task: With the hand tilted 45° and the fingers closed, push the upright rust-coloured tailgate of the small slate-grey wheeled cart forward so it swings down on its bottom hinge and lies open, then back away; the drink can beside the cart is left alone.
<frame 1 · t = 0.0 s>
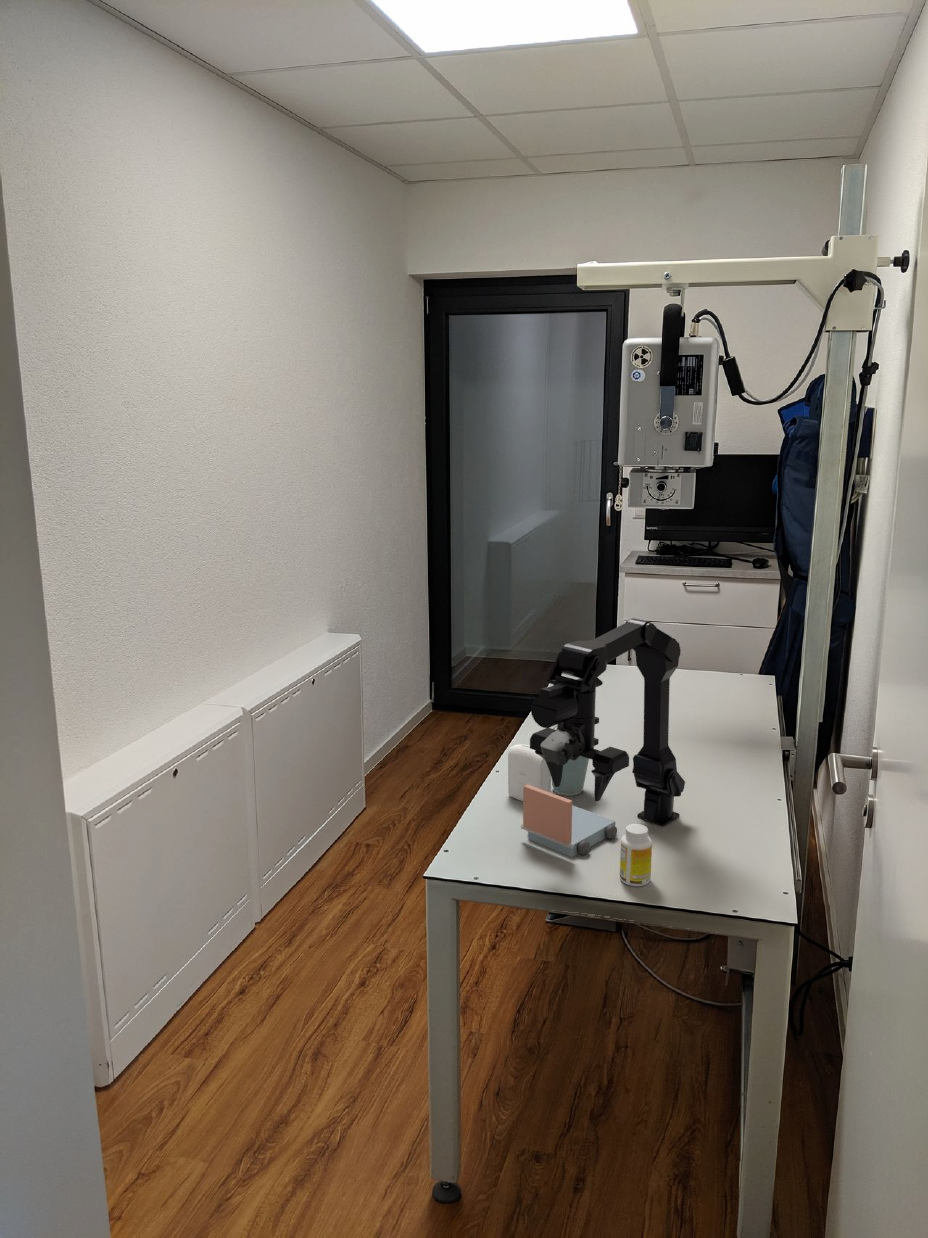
hand: (577, 793, 175), 15 cm above the table, tool pointing down, fingers open, 9 cm apart
disposable coffee cup: (568, 790, 212), on the table
supplement bottle: (634, 881, 174), on the table
photo printer: (529, 801, 207), on the table
cart bed: (571, 835, 191), on the table
tailgate: (547, 816, 183), point 7 cm above the table, hinge at 0.0°
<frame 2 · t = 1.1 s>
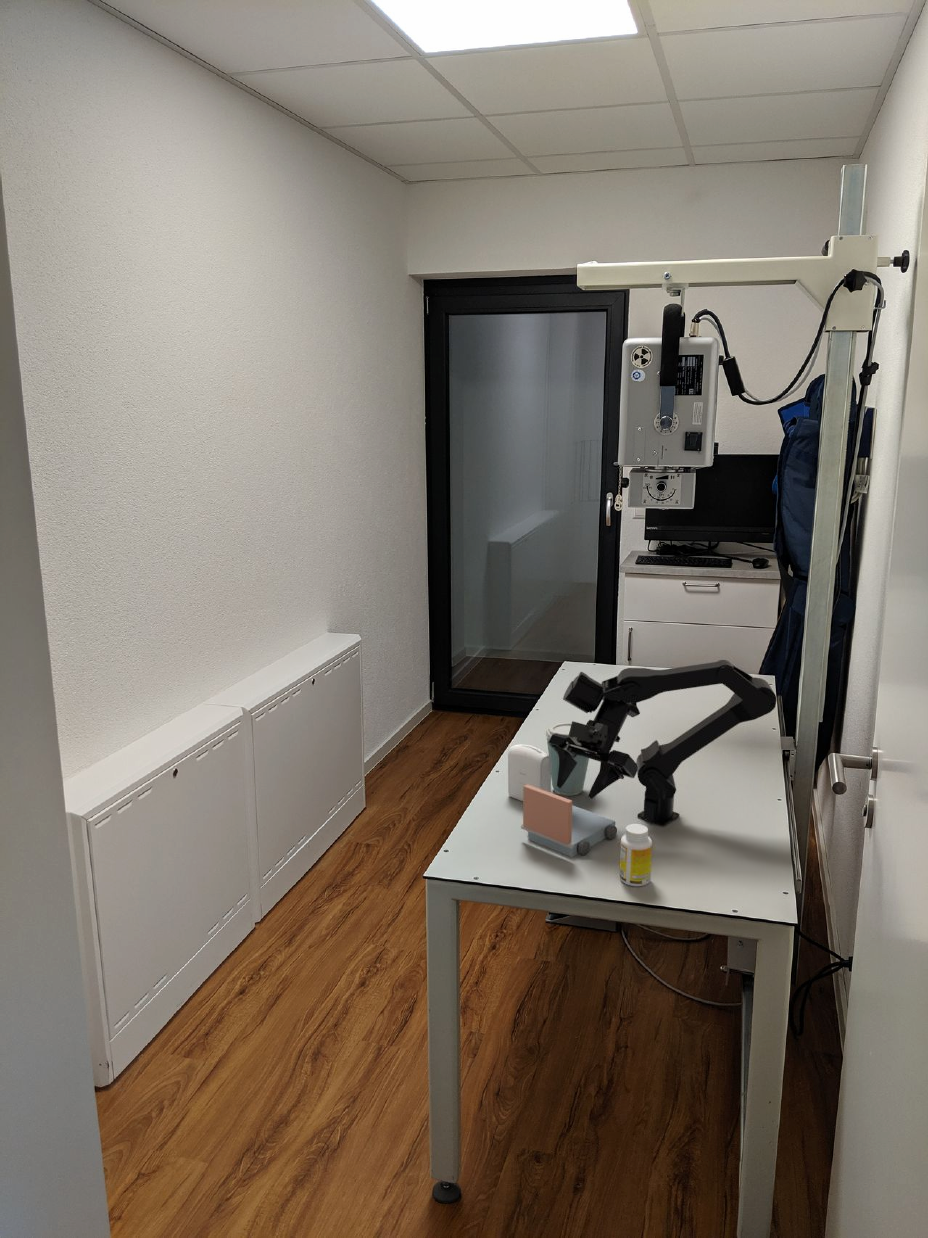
hand: (573, 792, 188), 9 cm above the table, tool tilted 45°, fingers open, 7 cm apart
nothing on the table moved.
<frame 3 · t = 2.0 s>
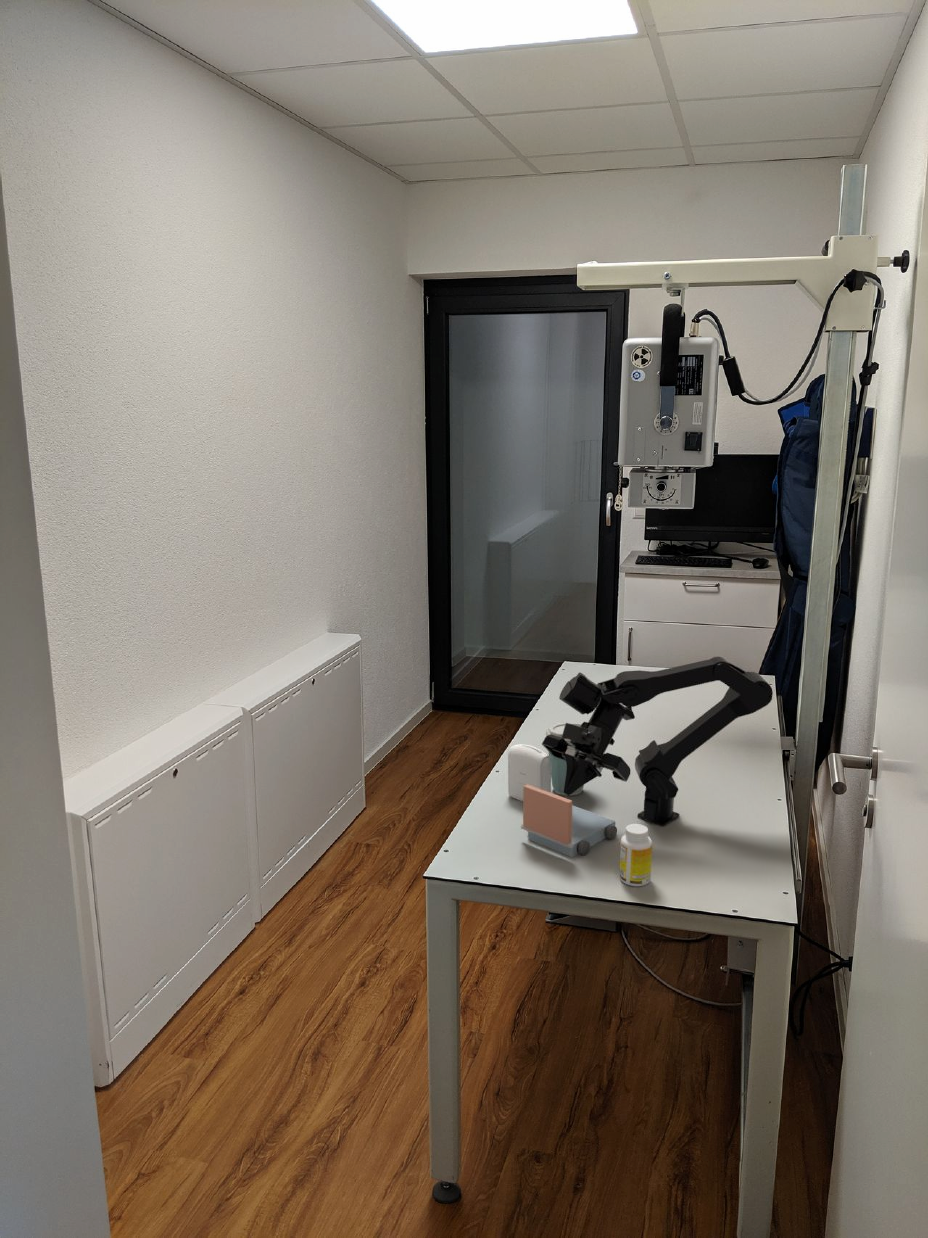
hand: (566, 794, 187), 9 cm above the table, tool tilted 45°, fingers closed
nothing on the table moved.
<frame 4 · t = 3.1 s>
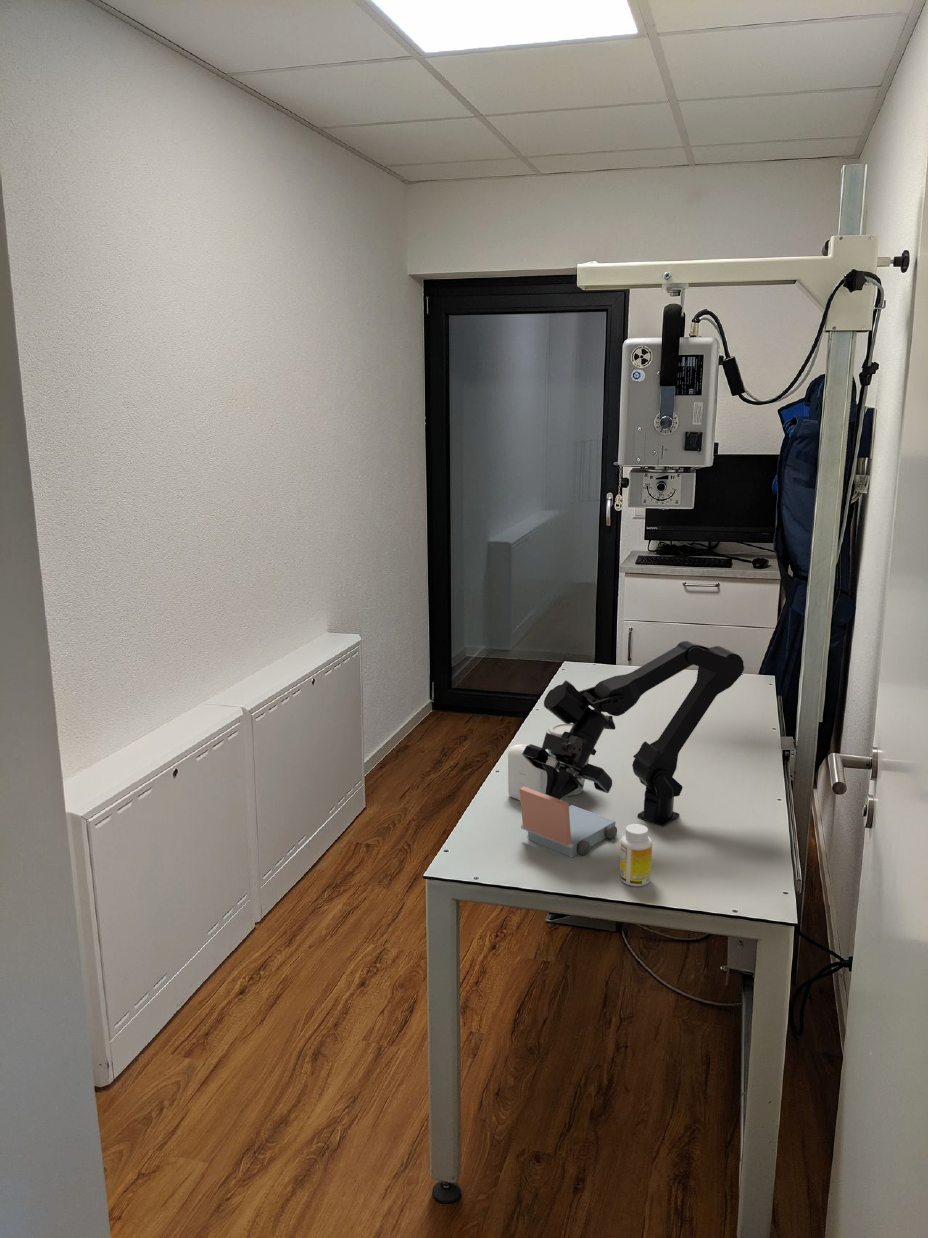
hand: (546, 806, 183), 9 cm above the table, tool tilted 45°, fingers closed, pressing on tailgate
tailgate: (545, 817, 183), point 7 cm above the table, hinge at 7.7°, touching gripper
everything else where it was.
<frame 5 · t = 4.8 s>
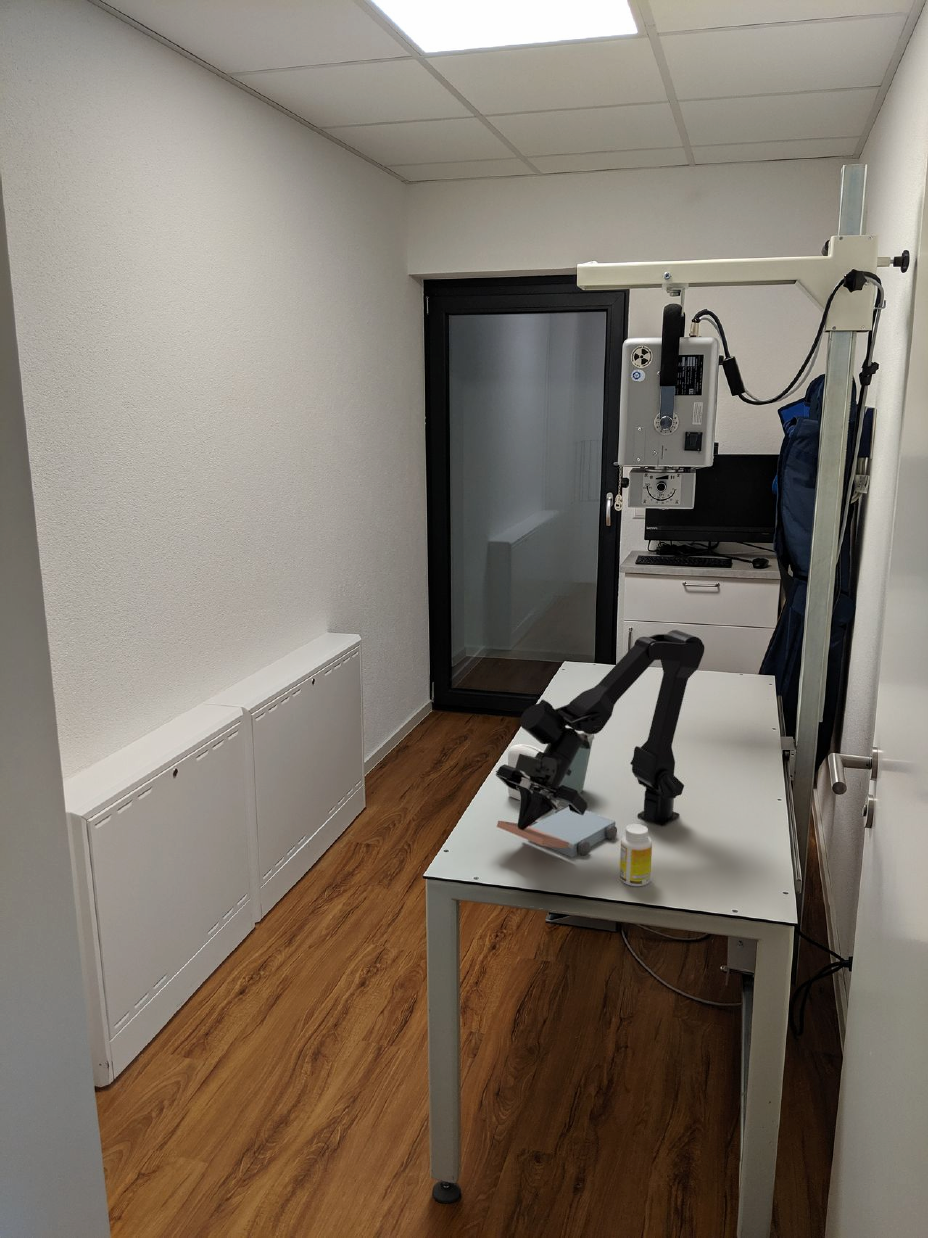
hand: (519, 828, 178), 7 cm above the table, tool tilted 45°, fingers closed, pressing on tailgate
tailgate: (534, 834, 181), point 5 cm above the table, hinge at 65.2°, touching gripper
everything else where it was.
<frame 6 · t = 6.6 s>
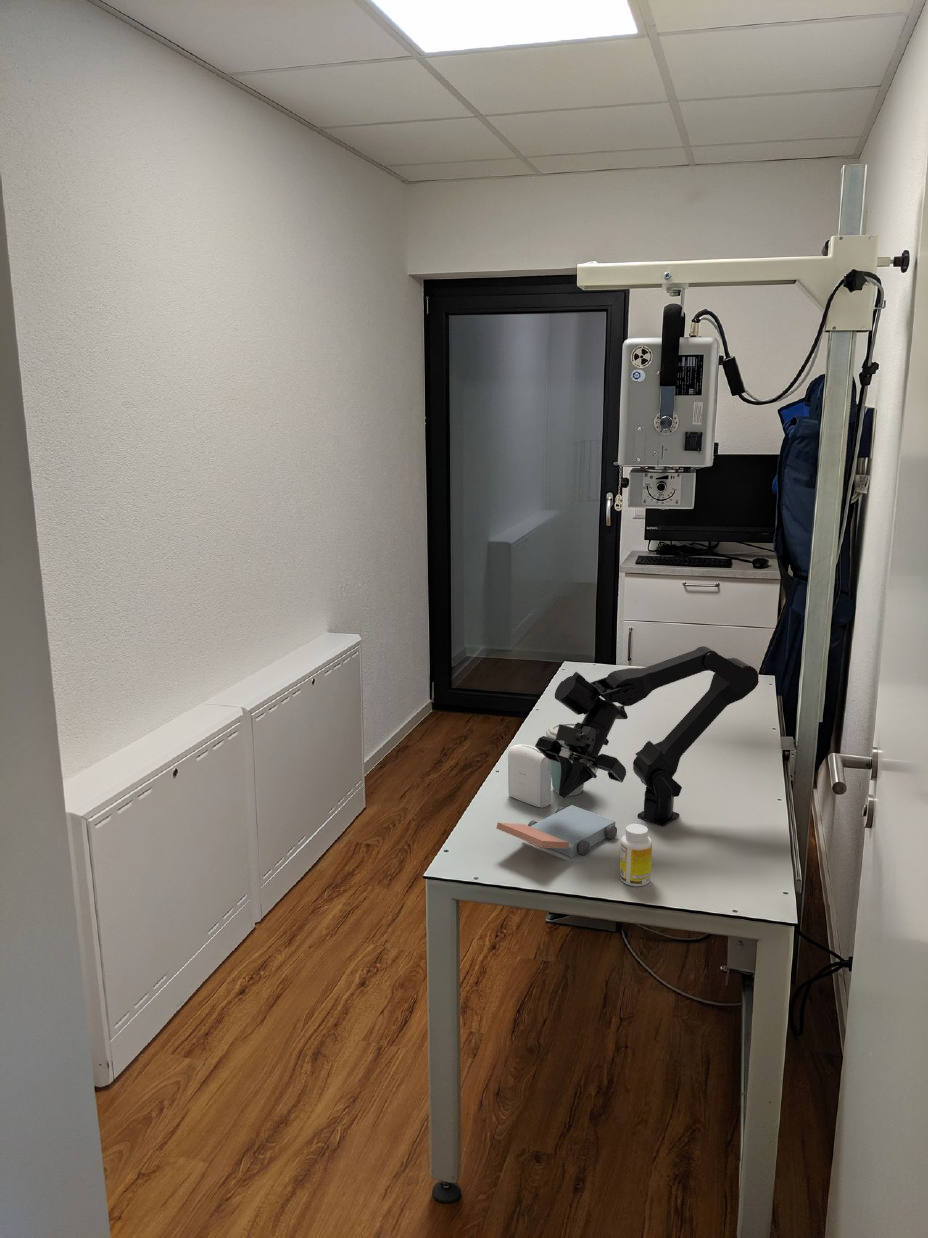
hand: (561, 796, 184), 10 cm above the table, tool tilted 45°, fingers closed
tailgate: (533, 835, 181), point 4 cm above the table, hinge at 67.3°
everything else where it was.
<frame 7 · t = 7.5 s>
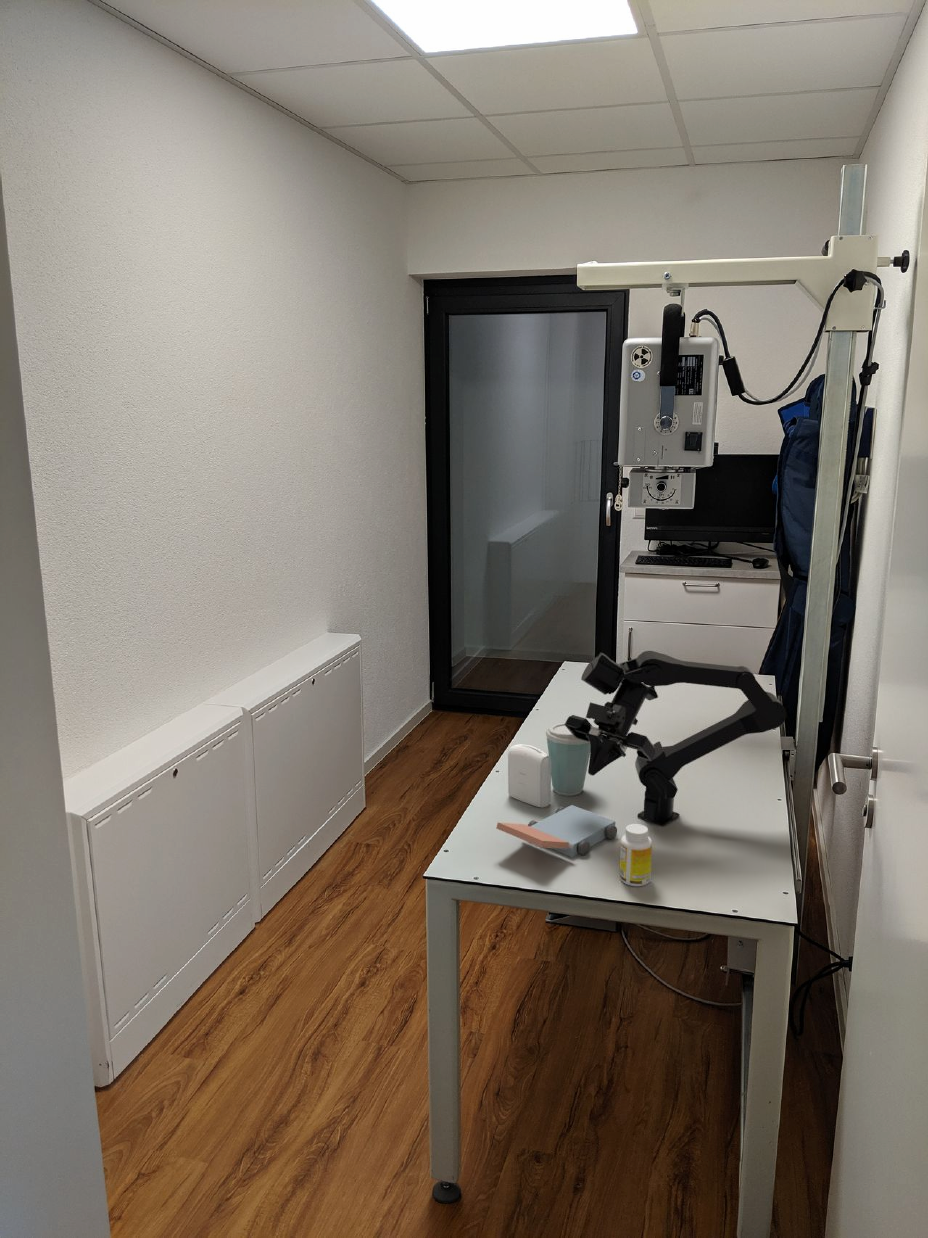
hand: (590, 774, 186), 14 cm above the table, tool tilted 45°, fingers closed
nothing on the table moved.
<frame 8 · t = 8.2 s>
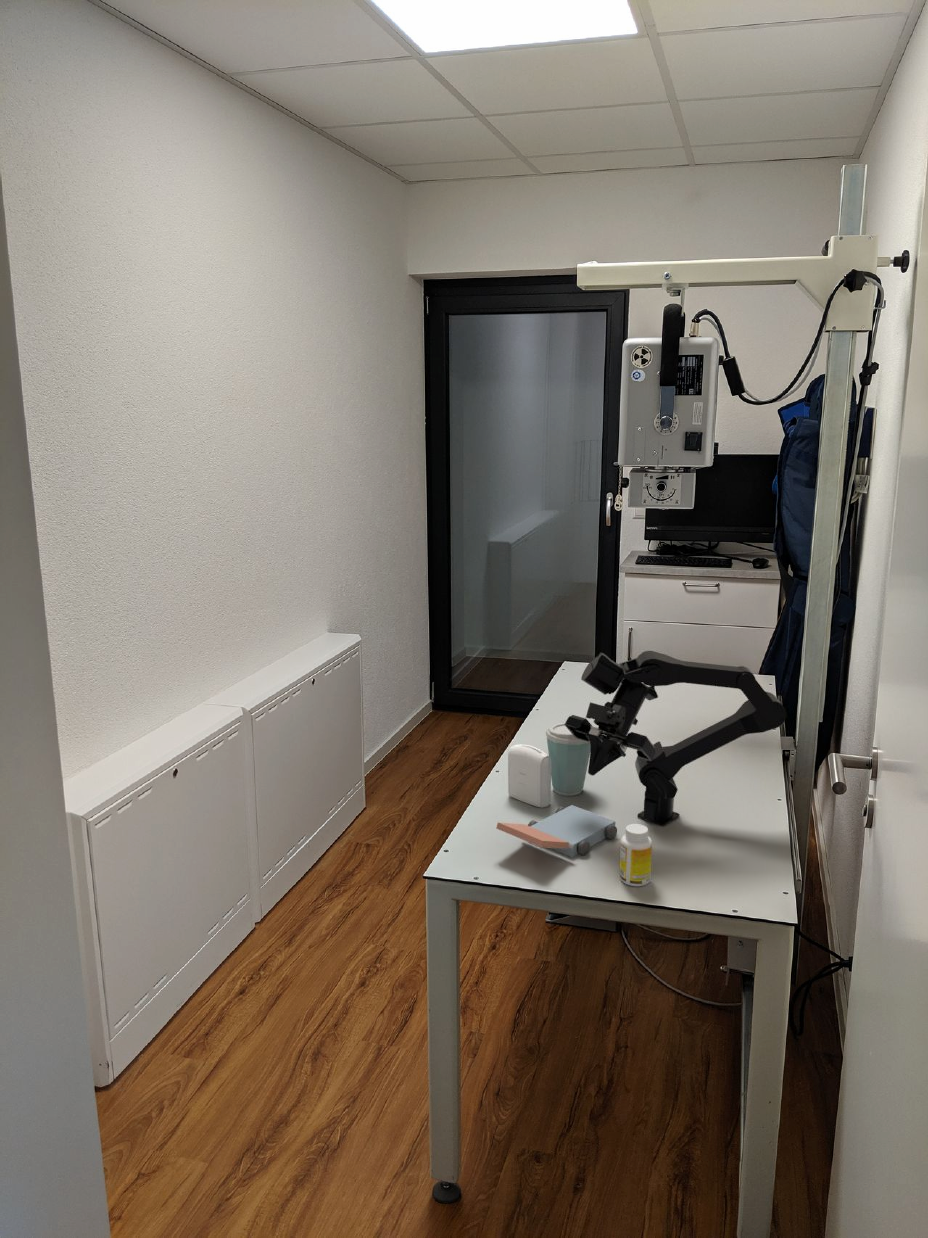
hand: (590, 774, 186), 14 cm above the table, tool tilted 45°, fingers closed
nothing on the table moved.
at the end: tailgate at +67° (first picture: +0°) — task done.
